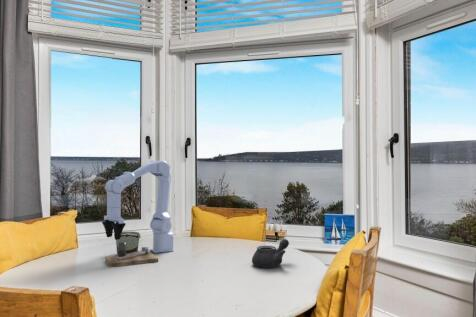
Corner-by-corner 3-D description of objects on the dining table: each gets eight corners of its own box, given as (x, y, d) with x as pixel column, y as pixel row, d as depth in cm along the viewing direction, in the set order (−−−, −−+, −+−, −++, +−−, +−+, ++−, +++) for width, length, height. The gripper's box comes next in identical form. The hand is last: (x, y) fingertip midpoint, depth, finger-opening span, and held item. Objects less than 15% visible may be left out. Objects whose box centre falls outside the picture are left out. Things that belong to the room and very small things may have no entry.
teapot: (276, 272, 153) (276, 247, 153) (245, 265, 162) (246, 241, 163) (300, 263, 167) (300, 240, 167) (271, 257, 177) (271, 235, 177)
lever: (145, 251, 178) (145, 237, 178) (150, 252, 176) (150, 237, 176) (115, 258, 164) (115, 242, 164) (120, 260, 162) (120, 243, 162)
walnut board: (150, 255, 178) (151, 252, 178) (158, 261, 167) (158, 258, 167) (105, 260, 169) (105, 257, 169) (110, 267, 158) (110, 263, 158)
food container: (144, 252, 184) (144, 231, 184) (139, 255, 178) (140, 234, 178) (119, 251, 185) (119, 231, 185) (114, 254, 179) (114, 233, 179)
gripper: (97, 206, 172) (97, 236, 172) (113, 209, 161) (112, 241, 161) (112, 205, 177) (112, 235, 177) (128, 208, 166) (127, 239, 166)
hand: (113, 238), depth 169 cm, fingers open, 7 cm apart
